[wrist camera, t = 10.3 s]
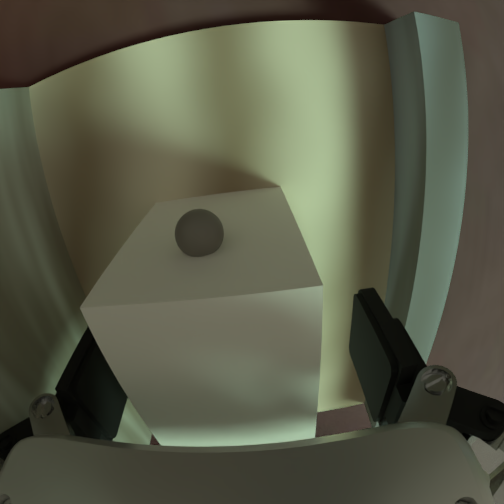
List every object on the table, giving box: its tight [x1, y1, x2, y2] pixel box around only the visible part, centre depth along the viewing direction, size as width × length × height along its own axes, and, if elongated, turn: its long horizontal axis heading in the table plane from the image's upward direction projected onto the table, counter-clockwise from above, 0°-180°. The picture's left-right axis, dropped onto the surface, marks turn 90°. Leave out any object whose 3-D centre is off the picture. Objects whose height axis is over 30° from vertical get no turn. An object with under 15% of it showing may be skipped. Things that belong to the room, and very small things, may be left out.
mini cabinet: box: [80, 187, 323, 447], centre depth 11 cm, size 5×10×7 cm, turn 6°
